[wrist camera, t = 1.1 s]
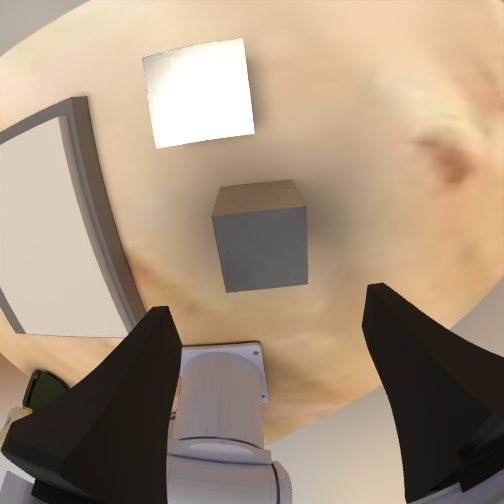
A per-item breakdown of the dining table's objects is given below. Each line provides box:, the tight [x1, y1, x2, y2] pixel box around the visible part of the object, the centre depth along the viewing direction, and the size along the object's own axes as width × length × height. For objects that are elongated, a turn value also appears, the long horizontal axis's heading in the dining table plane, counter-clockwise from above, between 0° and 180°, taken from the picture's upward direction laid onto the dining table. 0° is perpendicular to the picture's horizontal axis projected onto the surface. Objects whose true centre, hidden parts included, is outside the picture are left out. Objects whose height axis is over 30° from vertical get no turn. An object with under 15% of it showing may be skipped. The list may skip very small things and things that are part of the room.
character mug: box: [0, 371, 67, 450], centre depth 23 cm, size 11×7×13 cm, turn 97°
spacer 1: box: [142, 38, 255, 149], centre depth 13 cm, size 4×4×5 cm
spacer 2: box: [212, 180, 308, 293], centre depth 17 cm, size 4×4×5 cm
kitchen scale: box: [0, 96, 146, 338], centre depth 18 cm, size 18×16×3 cm
